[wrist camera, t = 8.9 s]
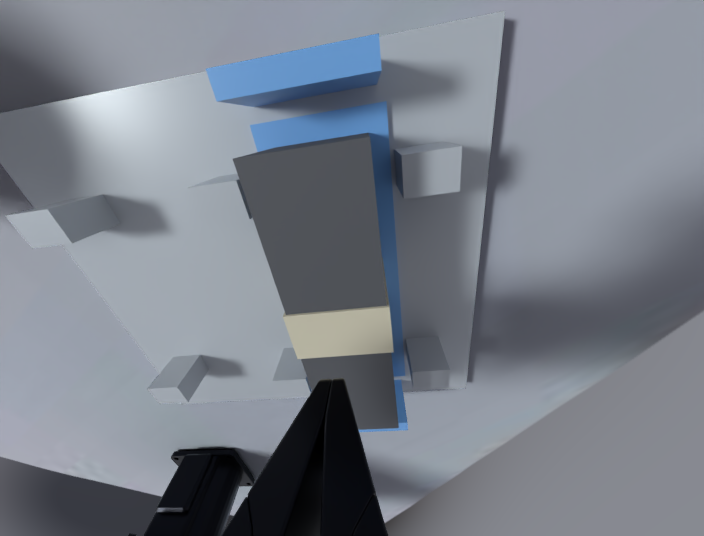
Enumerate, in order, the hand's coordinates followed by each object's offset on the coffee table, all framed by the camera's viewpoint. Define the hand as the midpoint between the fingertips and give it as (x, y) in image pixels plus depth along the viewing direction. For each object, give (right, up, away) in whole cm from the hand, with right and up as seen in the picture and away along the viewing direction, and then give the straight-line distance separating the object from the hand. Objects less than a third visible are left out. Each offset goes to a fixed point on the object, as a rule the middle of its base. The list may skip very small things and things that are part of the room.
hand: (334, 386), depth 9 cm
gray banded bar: (0, +3, +6) cm, 6 cm away
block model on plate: (-4, +3, +7) cm, 8 cm away
